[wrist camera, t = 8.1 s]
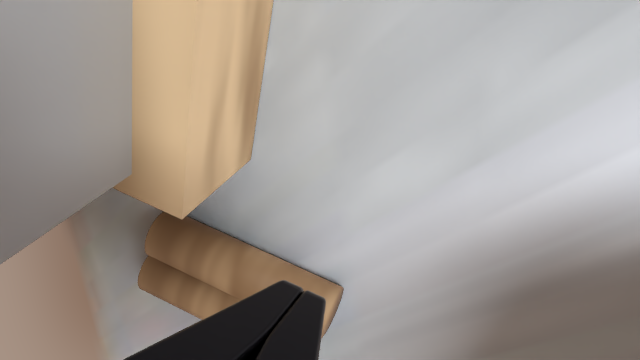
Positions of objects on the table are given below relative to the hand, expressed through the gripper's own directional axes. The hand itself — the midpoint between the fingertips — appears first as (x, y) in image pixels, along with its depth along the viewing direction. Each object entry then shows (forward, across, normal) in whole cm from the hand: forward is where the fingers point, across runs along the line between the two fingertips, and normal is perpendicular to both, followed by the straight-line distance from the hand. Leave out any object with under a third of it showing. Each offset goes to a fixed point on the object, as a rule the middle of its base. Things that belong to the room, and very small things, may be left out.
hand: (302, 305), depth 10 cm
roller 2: (+12, +6, +11) cm, 17 cm away
